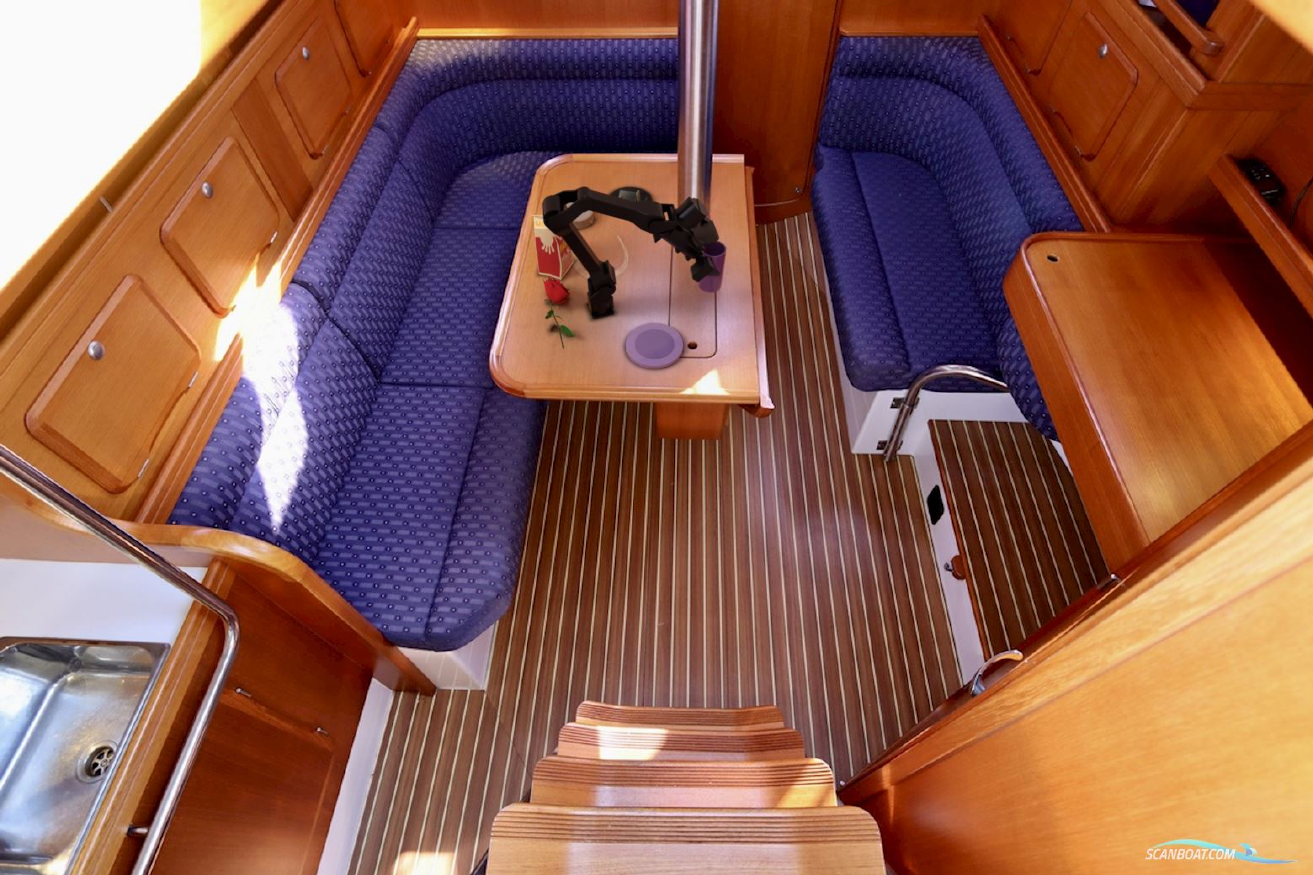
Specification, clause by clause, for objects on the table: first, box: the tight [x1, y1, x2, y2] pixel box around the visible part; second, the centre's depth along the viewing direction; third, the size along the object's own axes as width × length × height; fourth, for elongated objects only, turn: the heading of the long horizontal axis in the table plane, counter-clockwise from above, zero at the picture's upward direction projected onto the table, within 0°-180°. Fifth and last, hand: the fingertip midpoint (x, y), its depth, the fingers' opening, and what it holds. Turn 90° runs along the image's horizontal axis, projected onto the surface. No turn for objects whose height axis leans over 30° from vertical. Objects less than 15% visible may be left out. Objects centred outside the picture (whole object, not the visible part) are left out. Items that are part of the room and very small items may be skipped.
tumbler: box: [697, 240, 727, 294], centre depth 182 cm, size 7×7×13 cm
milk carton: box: [530, 214, 575, 281], centre depth 191 cm, size 9×9×20 cm
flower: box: [542, 276, 576, 350], centre depth 183 cm, size 9×10×30 cm
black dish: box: [609, 186, 653, 202], centre depth 215 cm, size 15×15×6 cm
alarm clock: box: [566, 203, 595, 230], centre depth 212 cm, size 11×5×15 cm
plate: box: [625, 322, 684, 370], centre depth 181 cm, size 16×16×1 cm
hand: (716, 266), depth 182 cm, fingers closed on tumbler, 7 cm apart
